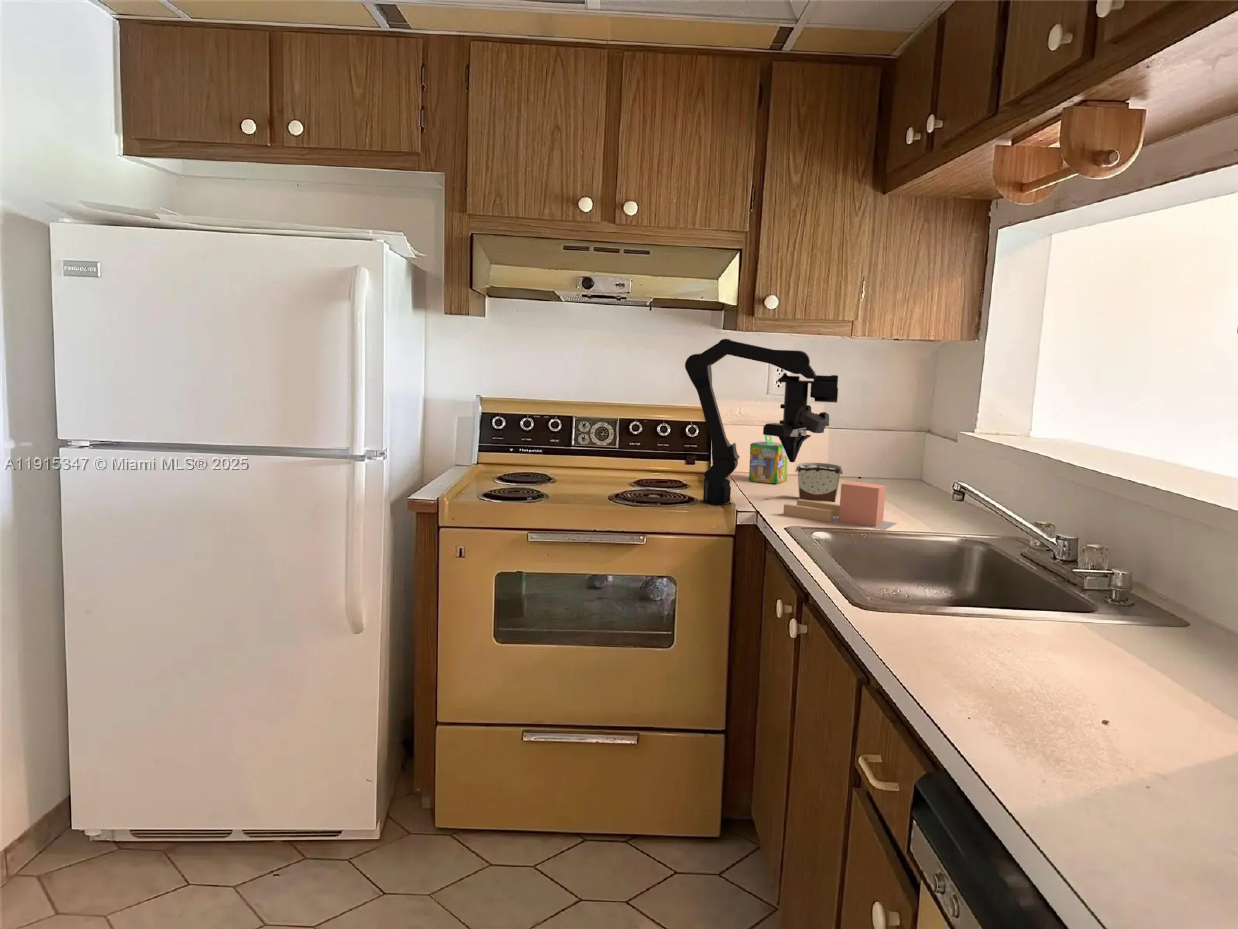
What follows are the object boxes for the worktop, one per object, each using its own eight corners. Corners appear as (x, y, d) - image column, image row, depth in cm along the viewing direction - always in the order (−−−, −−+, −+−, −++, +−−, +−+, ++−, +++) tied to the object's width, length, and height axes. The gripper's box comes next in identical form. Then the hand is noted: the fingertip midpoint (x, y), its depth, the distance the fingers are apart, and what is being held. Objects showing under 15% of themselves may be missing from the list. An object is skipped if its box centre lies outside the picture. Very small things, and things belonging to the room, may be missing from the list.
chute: (779, 516, 220) (780, 504, 220) (794, 510, 228) (795, 498, 228) (884, 532, 206) (885, 519, 206) (897, 525, 214) (898, 512, 213)
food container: (837, 499, 245) (839, 463, 244) (840, 504, 239) (843, 466, 237) (791, 497, 246) (793, 461, 245) (793, 501, 240) (795, 464, 239)
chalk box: (776, 485, 266) (779, 435, 264) (747, 481, 270) (750, 432, 268) (787, 481, 274) (790, 432, 271) (759, 477, 278) (762, 429, 276)
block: (838, 520, 214) (841, 483, 213) (846, 517, 218) (848, 481, 217) (875, 526, 209) (878, 488, 208) (882, 523, 213) (885, 485, 212)
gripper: (801, 404, 214) (797, 469, 217) (843, 402, 227) (839, 463, 230) (763, 401, 222) (759, 463, 225) (806, 398, 235) (803, 457, 238)
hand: (792, 462), depth 229 cm, fingers closed
